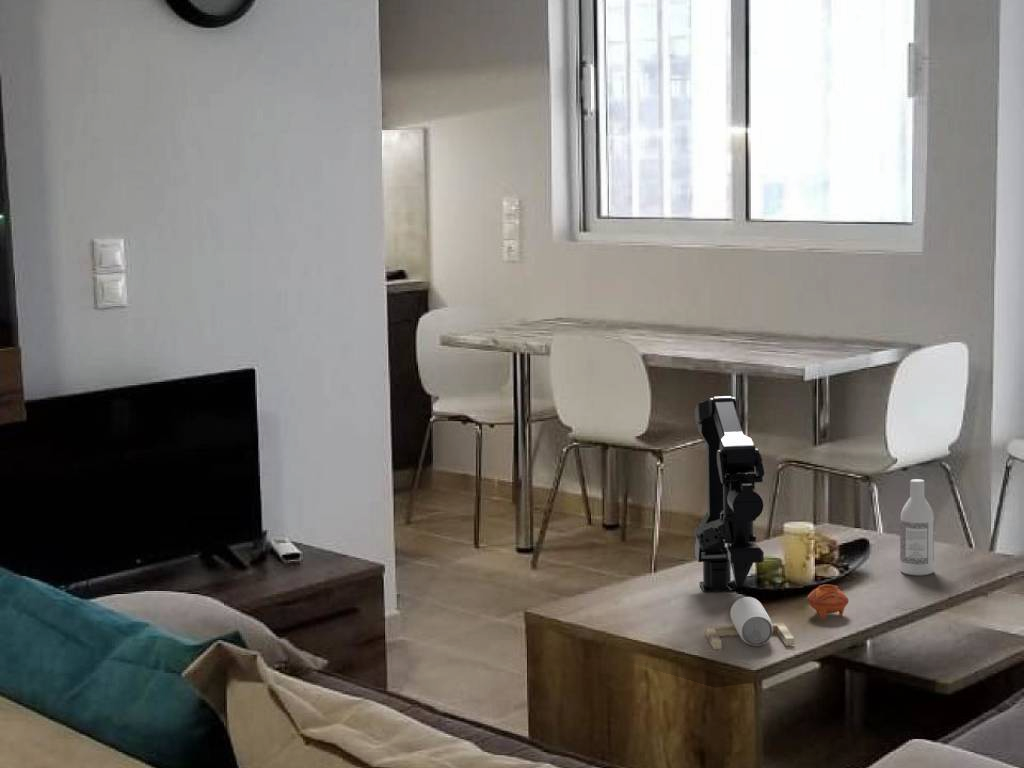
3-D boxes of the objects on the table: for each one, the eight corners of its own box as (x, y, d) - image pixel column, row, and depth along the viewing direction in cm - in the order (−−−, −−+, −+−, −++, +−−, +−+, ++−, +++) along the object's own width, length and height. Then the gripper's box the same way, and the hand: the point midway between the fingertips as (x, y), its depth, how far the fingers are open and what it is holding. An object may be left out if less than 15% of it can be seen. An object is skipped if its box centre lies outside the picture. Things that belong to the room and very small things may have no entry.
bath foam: (912, 566, 354) (912, 475, 351) (940, 571, 349) (940, 479, 346) (893, 572, 349) (894, 480, 346) (921, 578, 344) (922, 485, 341)
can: (727, 626, 313) (737, 646, 301) (732, 594, 312) (742, 612, 300) (761, 630, 313) (772, 649, 301) (765, 597, 312) (776, 616, 300)
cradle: (705, 634, 310) (705, 626, 310) (783, 630, 311) (783, 623, 310) (713, 649, 301) (713, 641, 300) (794, 646, 301) (794, 638, 301)
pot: (796, 614, 320) (801, 580, 320) (824, 616, 324) (829, 582, 324) (825, 622, 313) (830, 587, 313) (853, 624, 318) (858, 589, 318)
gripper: (689, 498, 321) (690, 574, 323) (704, 521, 302) (705, 602, 305) (745, 495, 321) (746, 572, 324) (763, 519, 303) (764, 600, 305)
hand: (739, 586), depth 314 cm, fingers closed
